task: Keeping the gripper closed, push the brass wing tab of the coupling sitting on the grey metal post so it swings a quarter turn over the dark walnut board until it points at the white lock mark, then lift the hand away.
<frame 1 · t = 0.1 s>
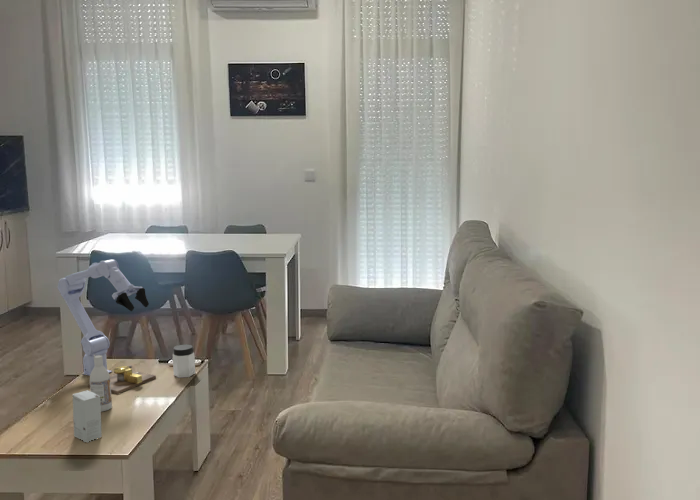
hand: (140, 307, 262), 32 cm above the table, tool tilted 50°, fingers open, 7 cm apart
skincare box: (88, 437, 218), on the table
bath foam: (102, 409, 242), on the table
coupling: (128, 374, 267), point 4 cm above the table, hinge at 0.0°
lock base: (122, 382, 269), on the table
jar: (184, 374, 278), on the table
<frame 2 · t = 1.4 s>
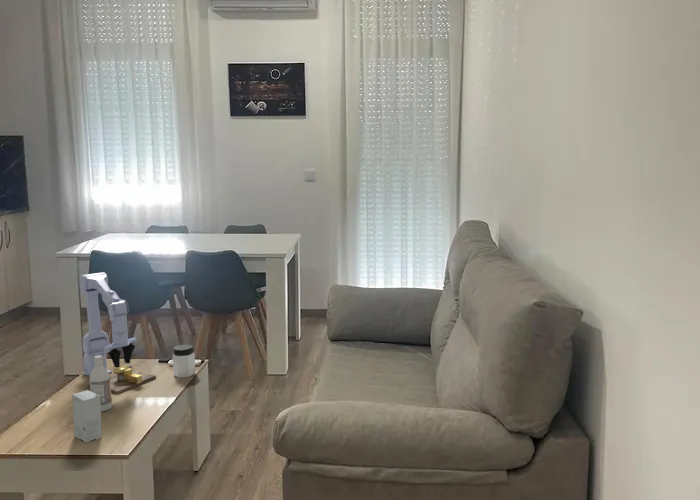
hand: (122, 365, 259), 10 cm above the table, tool pointing down, fingers open, 5 cm apart
nothing on the table moved.
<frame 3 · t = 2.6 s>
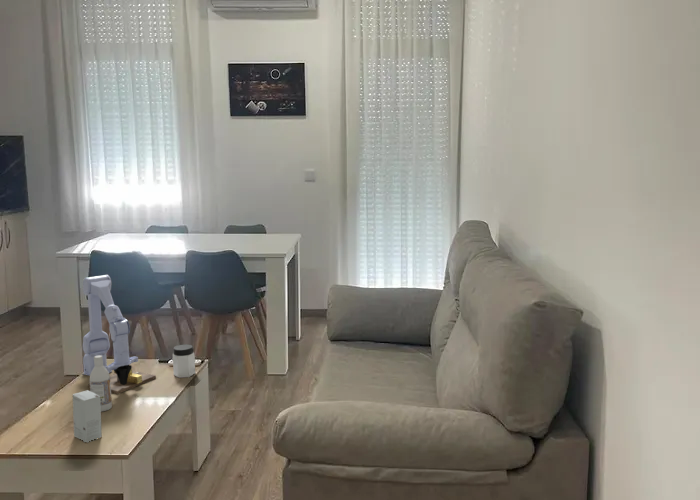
hand: (123, 383, 260), 3 cm above the table, tool pointing down, fingers closed
nothing on the table moved.
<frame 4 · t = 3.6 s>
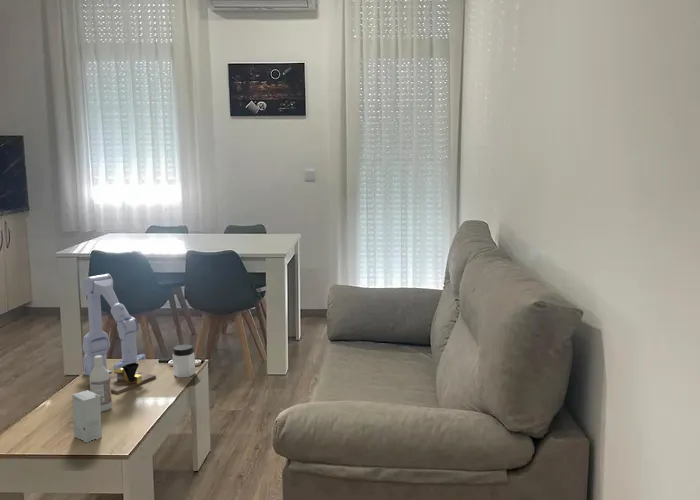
hand: (131, 381, 264), 2 cm above the table, tool pointing down, fingers closed, pressing on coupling
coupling: (128, 374, 267), point 4 cm above the table, hinge at 0.0°, touching gripper
everything else where it was.
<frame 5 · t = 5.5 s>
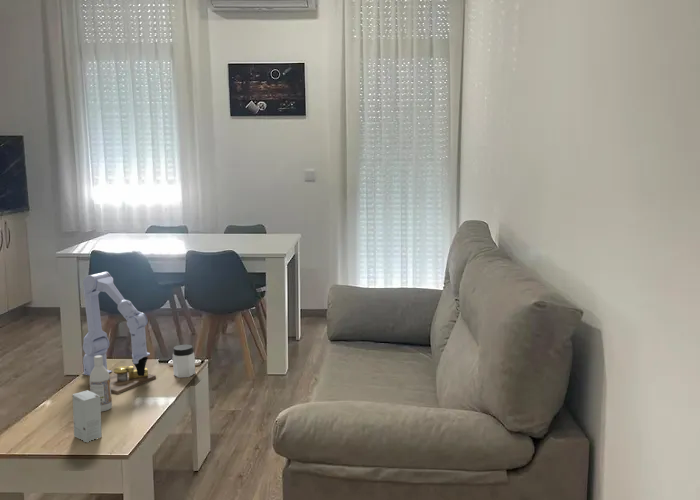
hand: (141, 375, 270), 3 cm above the table, tool pointing down, fingers closed, pressing on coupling
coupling: (130, 372, 270), point 4 cm above the table, hinge at 53.9°, touching gripper
everything else where it was.
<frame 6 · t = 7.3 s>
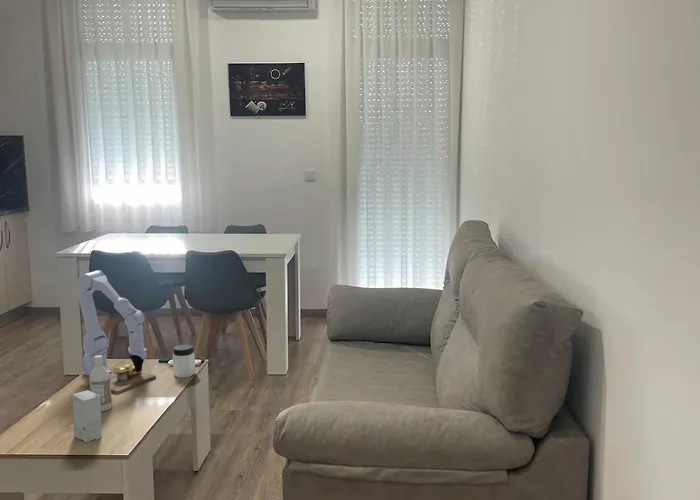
hand: (138, 371, 275), 3 cm above the table, tool pointing down, fingers closed
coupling: (127, 370, 272), point 4 cm above the table, hinge at 96.6°, touching gripper
everything else where it was.
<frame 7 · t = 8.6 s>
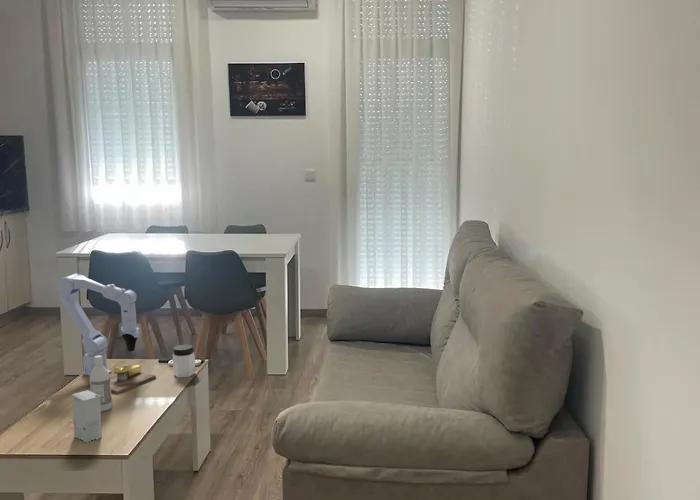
hand: (131, 350, 277), 10 cm above the table, tool pointing down, fingers closed
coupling: (127, 370, 272), point 4 cm above the table, hinge at 97.2°
everything else where it was.
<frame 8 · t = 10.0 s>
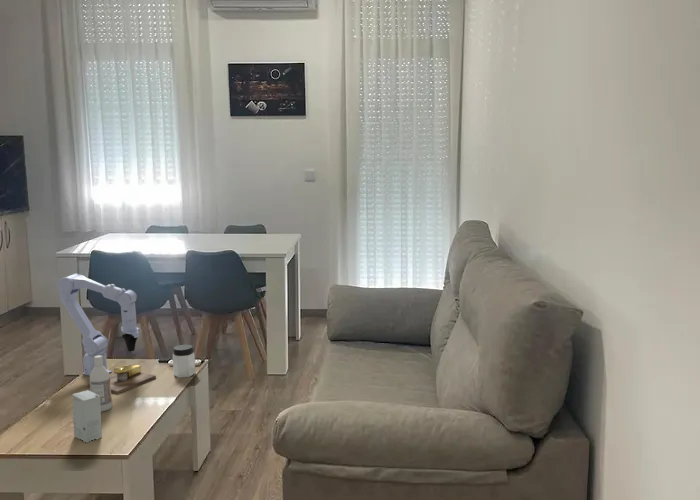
hand: (131, 350, 277), 10 cm above the table, tool pointing down, fingers closed
nothing on the table moved.
at the end: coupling at +97° (first picture: +0°); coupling touching nothing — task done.
